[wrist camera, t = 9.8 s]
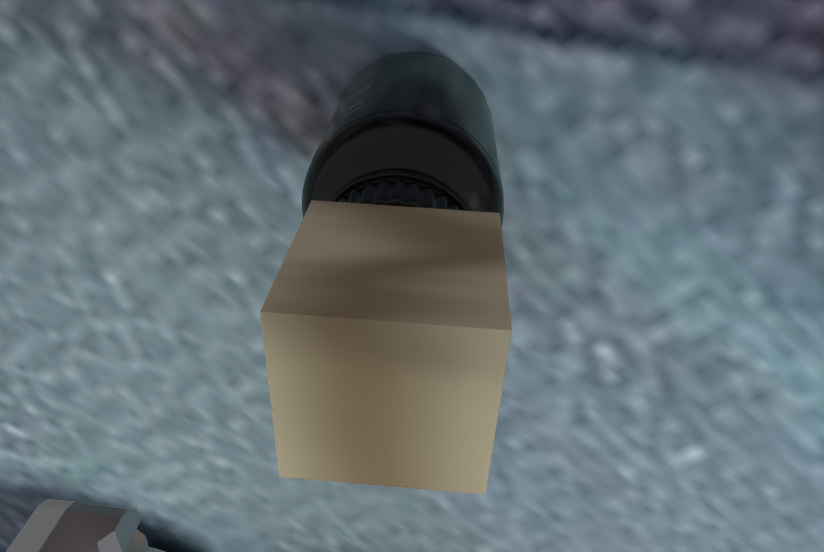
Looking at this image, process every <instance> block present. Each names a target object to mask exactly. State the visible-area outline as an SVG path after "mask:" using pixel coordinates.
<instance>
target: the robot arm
mask: <svg viewBox="0 0 824 552" xmlns="http://www.w3.org/2000/svg"><path fill="white" fill-rule="evenodd" d="M140 521H141V520H140V517H139V515H138V512H137V510H136V509H135V508H126V507H117V506H108V505H99V504H90V503H81V502H77V501H67V500H57V499H46V500H45V501H44V502H42V503H41V504H40V505H39V506H38V507H36V509H35V510H34V512H33V513H32V514H31V516H30V517H29V519H28V520H27V522H26V523H25V524H24V526H23V527H22V529H21V530H20V532H19V533H18V535H17V536H16V537H15V539H14V540H13V542H12V543H11V545H10V546H9V547H8V549H7V550H6V552H148V542H147V538H146V536H145V535H144V534H143V533H141V532H140V531H139V530H138V529H137V527H138V525H139V523H140Z"/></svg>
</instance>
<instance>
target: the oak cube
mask: <svg viewBox="0 0 824 552" xmlns="http://www.w3.org/2000/svg"><path fill="white" fill-rule="evenodd" d="M260 314H261V323H262V332H263V340H264V349H265V357H266V366H267V374H268V383H269V391H270V400H271V409H272V417H273V426H274V434H275V443H276V451H277V460H278V469H279V477H287V478H298V479H310V480H322V481H334V482H346V483H357V484H369V485H381V486H393V487H405V488H416V489H428V490H440V491H452V492H463V493H475V494H485V493H486V487H487V481H488V474H489V468H490V462H491V456H492V450H493V444H494V437H495V431H496V425H497V419H498V413H499V407H500V400H501V394H502V388H503V382H504V376H505V369H506V363H507V357H508V351H509V345H510V339H511V332H512V328H511V318H510V308H509V298H508V288H507V279H506V269H505V259H504V249H503V239H502V229H501V220H500V213H492V212H477V211H463V210H448V209H433V208H419V207H404V206H389V205H374V204H360V203H345V202H330V201H316V200H311V203H310V205H309V207H308V209H307V211H306V213H305V216H304V218H303V220H302V222H301V224H300V226H299V229H298V231H297V233H296V235H295V237H294V239H293V242H292V244H291V246H290V248H289V250H288V252H287V255H286V257H285V259H284V261H283V263H282V266H281V268H280V270H279V272H278V274H277V276H276V279H275V281H274V283H273V285H272V287H271V289H270V292H269V294H268V296H267V298H266V300H265V302H264V305H263V307H262V309H261V311H260Z"/></svg>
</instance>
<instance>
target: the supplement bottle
mask: <svg viewBox="0 0 824 552" xmlns="http://www.w3.org/2000/svg"><path fill="white" fill-rule="evenodd" d="M311 200H316V201H330V202H345V203H360V204H374V205H389V206H404V207H419V208H433V209H448V210H463V211H477V212H492V213H500V220H501V228H502V223H503V214H504V200H503V190H502V182H501V176H500V169H499V163H498V156H497V150H496V143H495V137H494V130H493V124H492V119H491V115H490V110H489V107H488V104H487V101H486V99H485V97H484V95H483V93H482V91H481V90H480V88H479V86H478V85H477V84H476V82H475V81H474V80H473V79H472V78H471V76H470V75H469V74H468V73H466V72H465V71H464V70H463V69H462V68H460V67H459V66H458V65H456V64H454V63H453V62H451V61H449V60H447V59H445V58H442V57H440V56H437V55H433V54H429V53H422V52H404V53H398V54H393V55H390V56H387V57H384V58H382V59H379V60H378V61H376V62H374V63H372V64H371V65H369V66H368V67H366V68H365V69H364V70H363V71H362V72H360V73H359V74H358V75H357V77H356V78H355V79H354V80H353V81H352V82H351V84H350V85H349V87H348V88H347V90H346V91H345V93H344V95H343V97H342V99H341V101H340V103H339V105H338V107H337V109H336V111H335V113H334V116H333V118H332V120H331V122H330V124H329V126H328V128H327V130H326V132H325V135H324V137H323V139H322V141H321V143H320V145H319V147H318V149H317V151H316V154H315V156H314V158H313V160H312V162H311V164H310V167H309V169H308V172H307V175H306V178H305V182H304V187H303V193H302V212H303V218H304V216H305V213H306V211H307V209H308V207H309V205H310V203H311Z"/></svg>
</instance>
